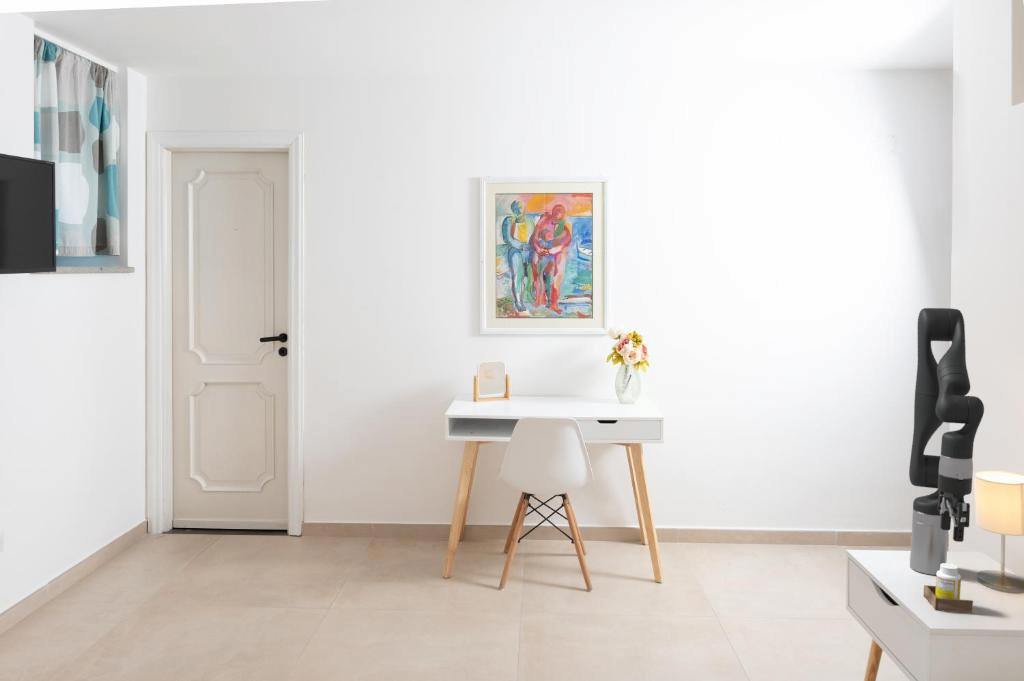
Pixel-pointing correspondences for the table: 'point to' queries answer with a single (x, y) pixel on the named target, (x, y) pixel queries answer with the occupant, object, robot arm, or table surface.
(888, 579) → the table surface
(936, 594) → the supplement bottle
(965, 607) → the walnut u rest
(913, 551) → the robot arm
